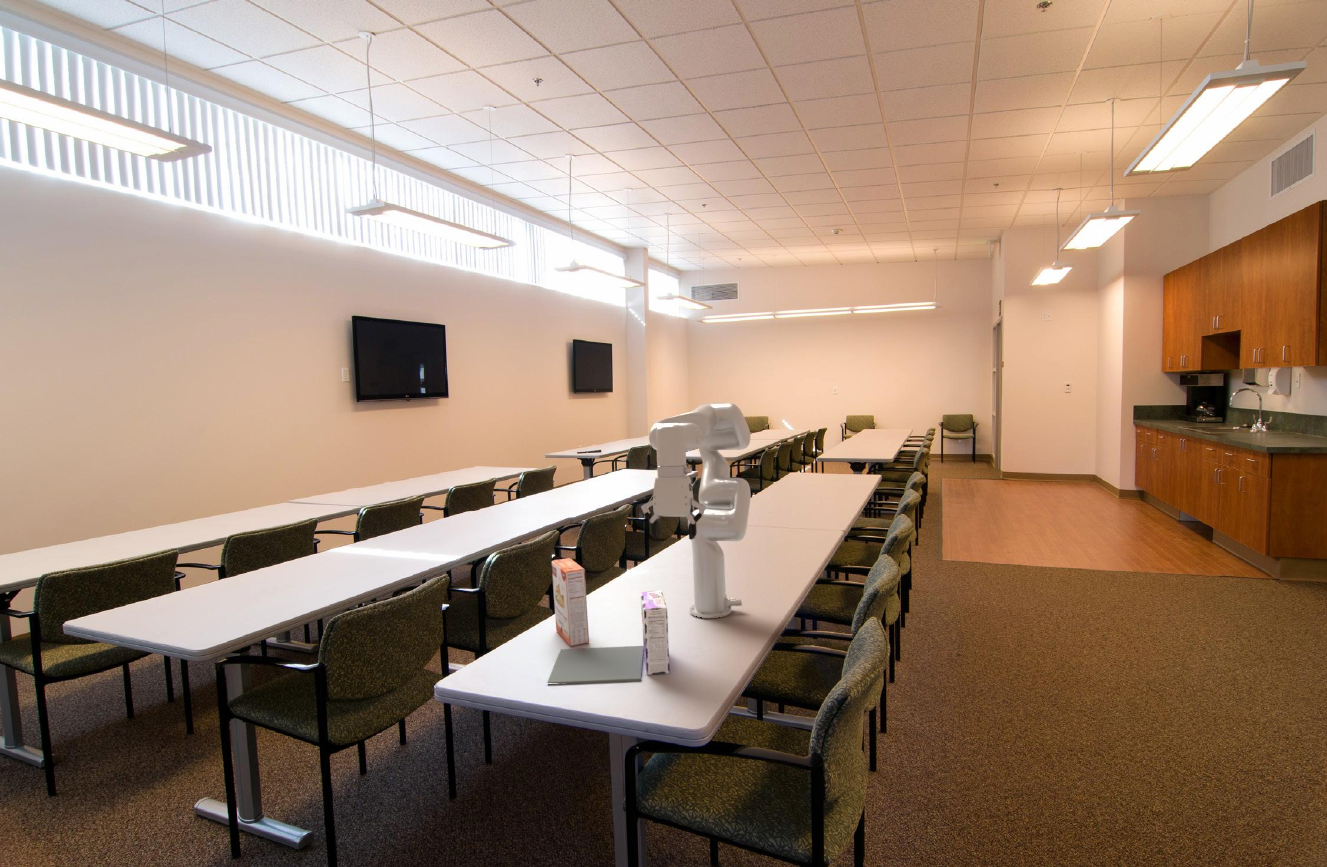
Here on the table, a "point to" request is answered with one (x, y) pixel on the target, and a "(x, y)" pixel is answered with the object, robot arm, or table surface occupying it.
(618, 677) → the rubber mat
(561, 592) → the cracker box
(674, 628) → the table surface
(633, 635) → the table surface
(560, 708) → the table surface
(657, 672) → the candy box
